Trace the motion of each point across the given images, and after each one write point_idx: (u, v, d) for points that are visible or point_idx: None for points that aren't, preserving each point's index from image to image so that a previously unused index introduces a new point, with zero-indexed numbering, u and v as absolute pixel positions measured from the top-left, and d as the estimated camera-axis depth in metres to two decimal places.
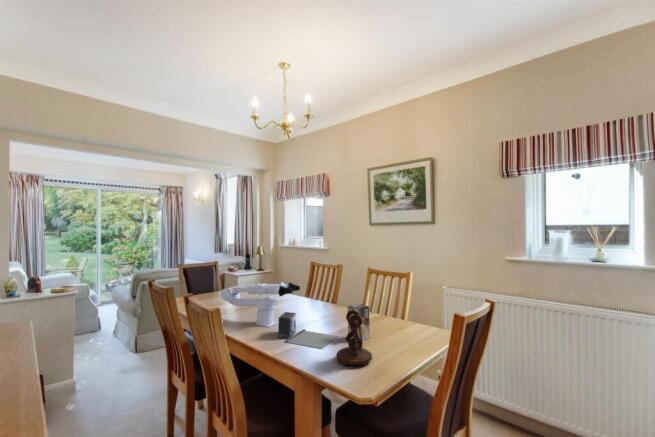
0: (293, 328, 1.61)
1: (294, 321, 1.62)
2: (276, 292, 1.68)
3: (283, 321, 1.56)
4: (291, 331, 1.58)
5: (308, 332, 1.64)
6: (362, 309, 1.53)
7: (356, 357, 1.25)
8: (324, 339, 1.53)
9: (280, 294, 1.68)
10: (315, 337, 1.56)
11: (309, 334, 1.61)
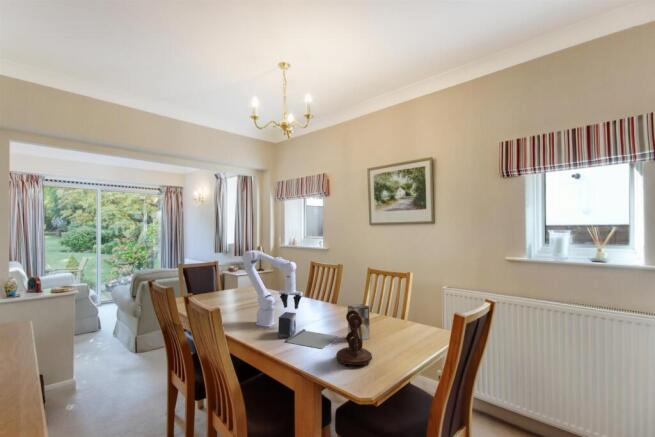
0: (293, 328, 1.61)
1: (294, 321, 1.62)
2: None
3: (283, 321, 1.56)
4: (291, 331, 1.58)
5: (308, 332, 1.64)
6: (362, 309, 1.53)
7: (356, 357, 1.25)
8: (324, 339, 1.53)
9: None
10: (315, 337, 1.56)
11: (309, 334, 1.61)
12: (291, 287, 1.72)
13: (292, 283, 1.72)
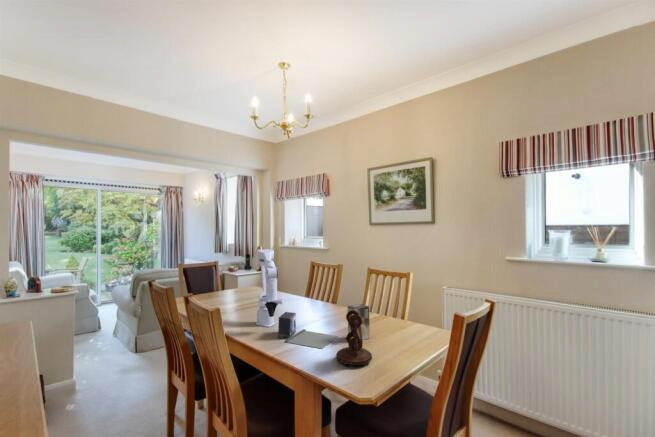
0: (293, 328, 1.61)
1: (294, 321, 1.62)
2: None
3: (283, 321, 1.56)
4: (291, 331, 1.58)
5: (308, 332, 1.64)
6: (362, 309, 1.53)
7: (356, 357, 1.25)
8: (324, 339, 1.53)
9: None
10: (315, 337, 1.56)
11: (309, 334, 1.61)
12: (272, 294, 1.63)
13: (268, 290, 1.63)
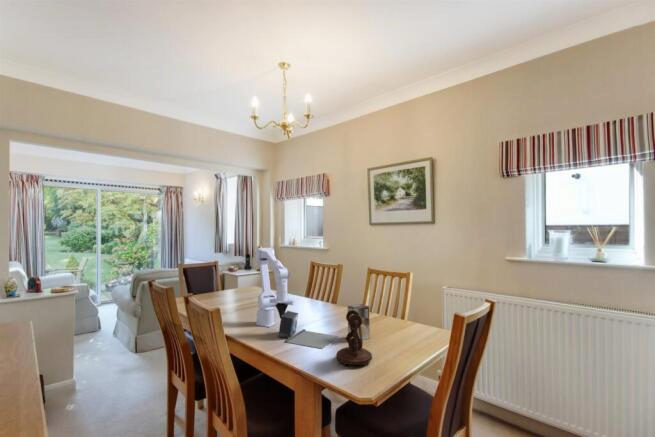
0: (294, 328, 1.61)
1: (296, 321, 1.62)
2: None
3: (285, 321, 1.56)
4: (292, 331, 1.57)
5: (308, 332, 1.64)
6: (362, 309, 1.53)
7: (356, 357, 1.25)
8: (324, 339, 1.53)
9: None
10: (315, 337, 1.56)
11: (309, 334, 1.61)
12: (282, 295, 1.60)
13: (280, 291, 1.60)
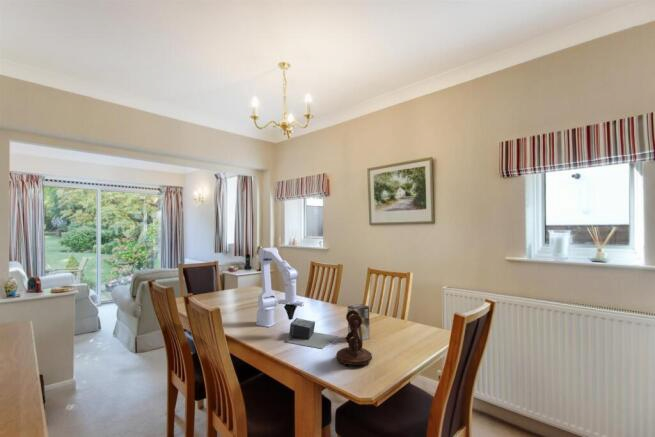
0: None
1: None
2: None
3: (305, 332, 1.53)
4: None
5: None
6: (362, 309, 1.53)
7: (356, 357, 1.25)
8: (324, 339, 1.53)
9: None
10: (315, 337, 1.56)
11: None
12: (291, 296, 1.58)
13: (289, 292, 1.58)
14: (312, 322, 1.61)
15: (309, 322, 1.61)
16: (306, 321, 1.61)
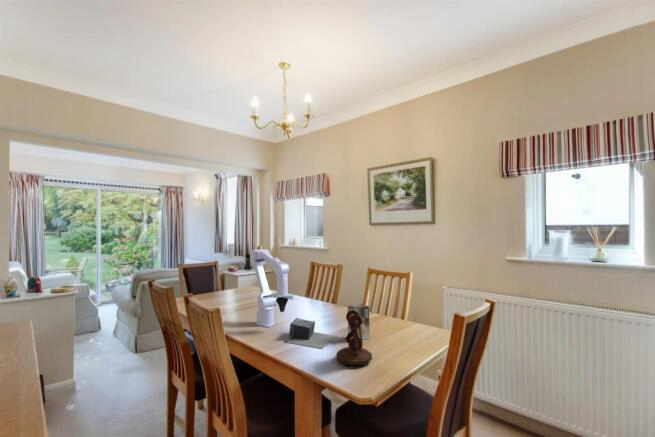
0: None
1: None
2: None
3: (305, 332, 1.53)
4: None
5: None
6: (362, 309, 1.53)
7: (356, 357, 1.25)
8: (324, 339, 1.53)
9: None
10: (315, 337, 1.56)
11: None
12: (283, 290, 1.65)
13: (281, 286, 1.65)
14: (312, 322, 1.61)
15: (309, 322, 1.61)
16: (306, 321, 1.61)
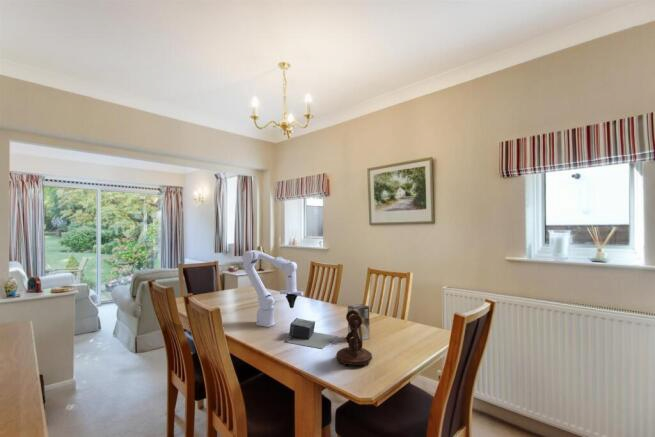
0: None
1: None
2: None
3: (305, 332, 1.53)
4: None
5: None
6: (362, 309, 1.53)
7: (356, 357, 1.25)
8: (324, 339, 1.53)
9: None
10: (315, 337, 1.56)
11: None
12: (292, 287, 1.73)
13: (293, 283, 1.73)
14: (312, 322, 1.61)
15: (309, 322, 1.61)
16: (306, 321, 1.61)
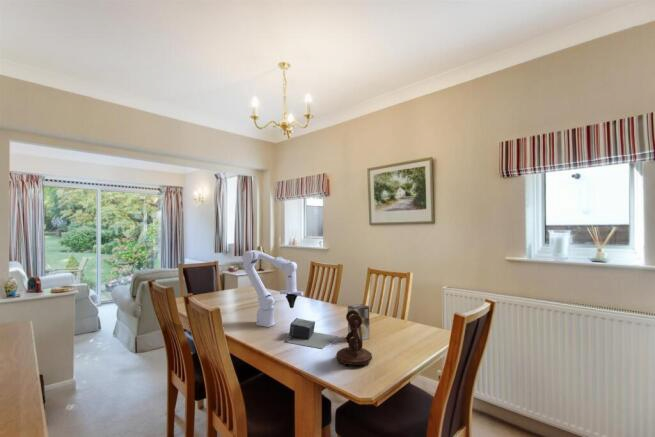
0: None
1: None
2: None
3: (305, 332, 1.53)
4: None
5: None
6: (362, 309, 1.53)
7: (356, 357, 1.25)
8: (324, 339, 1.53)
9: None
10: (315, 337, 1.56)
11: None
12: (292, 287, 1.73)
13: (293, 283, 1.73)
14: (312, 322, 1.61)
15: (309, 322, 1.61)
16: (306, 321, 1.61)
